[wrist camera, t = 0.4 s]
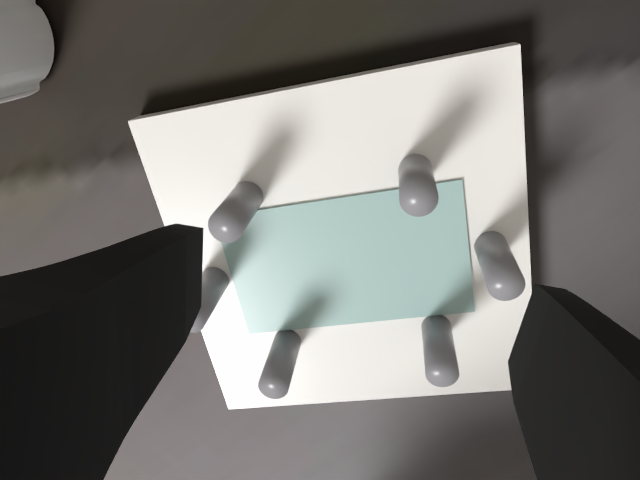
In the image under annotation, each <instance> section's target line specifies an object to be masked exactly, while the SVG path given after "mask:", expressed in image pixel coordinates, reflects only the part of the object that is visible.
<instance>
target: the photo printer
mask: <svg viewBox="0 0 640 480" xmlns="http://www.w3.org/2000/svg"><path fill="white" fill-rule="evenodd" d="M53 58H54V39H53V34H52V30H51V27H50V24H49V22H48V19H47V17H46V15H45V13H44V12H43V10H42V9H41V8H40V7H39V6H38V5H36V3H35V0H0V103H4V102H8V101H12V100H15V99H19V98H23V97H27V96H29V95H32V94H34V93H36V92H37V91H39V89H40V86H39V83H40V81H42V80H43V79H45V78H46V76H47V75H48V73H49V71H50V69H51V66H52V63H53Z"/></svg>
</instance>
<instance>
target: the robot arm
mask: <svg viewBox="0 0 640 480" xmlns="http://www.w3.org/2000/svg"><path fill="white" fill-rule="evenodd" d="M202 263H203V228H201V227H195V226H189V225H183V224H172V225H168V226H164V227H161V228H158V229H155V230H152V231H149V232H146V233H144V234H141V235H138V236H136V237H133V238H130V239H127V240H125V241H122V242H119V243H116V244H113V245H111V246H108V247H105V248H102V249H99V250H96V251H93V252H90V253H87V254H84V255H80V256H77V257H74V258H71V259H68V260H65V261H62V262H58V263H55V264H51V265H47V266H44V267H40V268H36V269H32V270H27V271H23V272H19V273H14V274H10V275H5V276H0V480H103V479H104V477H105V475H106V473H107V471H108V469H109V467H110V465H111V463H112V461H113V459H114V457H115V455H116V453H117V451H118V449H119V447H120V445H121V443H122V441H123V439H124V438H125V436H126V434H127V433H128V431H129V429H130V428H131V426H132V424H133V422H134V421H135V419H136V418H137V416H138V415H139V413H140V411H141V410H142V408H143V407H144V405H145V404H146V402H147V401H148V399H149V398H150V396H151V395H152V393H153V392H154V390H155V388H156V387H157V385H158V384H159V382H160V381H161V379H162V378H163V376H164V375H165V373H166V372H167V370H168V369H169V367H170V365H171V364H172V362H173V361H174V359H175V358H176V356H177V354H178V353H179V351H180V350H181V348H182V346H183V345H184V343H185V342H186V339H187V337H188V335H189V333H190V331H191V329H192V327H193V325H194V322H195V320H196V318H197V315H198V313H199V311H200V308H201V300H202ZM508 367H509V375H510V382H511V389H512V395H513V401H514V405H515V408H516V412H517V415H518V418H519V422H520V425H521V428H522V432H523V435H524V438H525V441H526V444H527V448H528V451H529V454H530V457H531V460H532V463H533V467H534V470H535V473H536V476H537V479H538V480H640V340H639V339H638V338H636V337H635V336H634V335H632V334H631V333H629V332H628V331H627V330H625V329H624V328H622V327H621V326H620V325H618V324H617V323H615V322H614V321H613V320H611V319H610V318H608V317H607V316H606V315H604V314H603V313H601V312H600V311H599V310H597V309H596V308H594V307H593V306H592V305H590V304H589V303H587V302H586V301H584V300H583V299H581V298H580V297H578V296H576V295H575V294H573V293H571V292H569V291H568V290H566V289H562V288H556V287H550V286H544V285H538V284H535V285H534V288H533V291H532V294H531V297H530V300H529V302H528V305H527V308H526V311H525V314H524V317H523V320H522V322H521V325H520V328H519V331H518V334H517V337H516V339H515V342H514V345H513V348H512V351H511V354H510V356H509V359H508Z"/></svg>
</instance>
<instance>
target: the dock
mask: <svg viewBox="0 0 640 480" xmlns="http://www.w3.org/2000/svg"><path fill="white" fill-rule="evenodd" d="M128 123H129V126H130V129H131V132H132V135H133V137H134V140H135V143H136V146H137V149H138V152H139V155H140V157H141V160H142V163H143V166H144V169H145V172H146V175H147V177H148V180H149V183H150V186H151V189H152V192H153V195H154V197H155V200H156V203H157V206H158V209H159V212H160V215H161V217H162V220H163V223H164V226H168V225H172V224H183V225H189V226H195V227H201V228H203V263H202V300H201V308H200V311H199V313H198V315H197V318H196V320H195V322H194V325H193V327H192V329H191V331H190V333H195V332H199V331H201V332H202V335H203V337H204V340H205V343H206V346H207V349H208V352H209V355H210V357H211V360H212V363H213V366H214V369H215V372H216V375H217V377H218V380H219V383H220V386H221V389H222V392H223V395H224V397H225V400H226V403H227V406H228V409H241V408H256V407H270V406H285V405H300V404H314V403H329V402H344V401H358V400H373V399H388V398H402V397H417V396H432V395H446V394H461V393H476V392H490V391H505V390H512V389H511V382H510V375H509V367H508V359H509V356H510V354H511V351H512V348H513V345H514V342H515V339H516V337H517V334H518V331H519V328H520V325H521V322H522V320H523V317H524V314H525V311H526V308H527V305H528V302H529V300H530V297H531V294H532V286H531V264H530V242H529V220H528V198H527V175H526V153H525V131H524V109H523V87H522V65H521V44H519V43H516V42H511V43H506V44H501V45H496V46H491V47H486V48H481V49H476V50H471V51H466V52H461V53H455V54H450V55H445V56H440V57H435V58H430V59H425V60H420V61H415V62H410V63H405V64H400V65H395V66H390V67H385V68H379V69H374V70H369V71H364V72H359V73H354V74H349V75H344V76H339V77H334V78H329V79H324V80H319V81H314V82H308V83H303V84H298V85H293V86H288V87H283V88H278V89H273V90H268V91H263V92H258V93H253V94H248V95H243V96H238V97H232V98H227V99H222V100H217V101H212V102H207V103H202V104H197V105H192V106H187V107H182V108H177V109H172V110H167V111H162V112H156V113H151V114H146V115H141V116H138V117H136V118H134V119H132V120H129V121H128Z"/></svg>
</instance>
